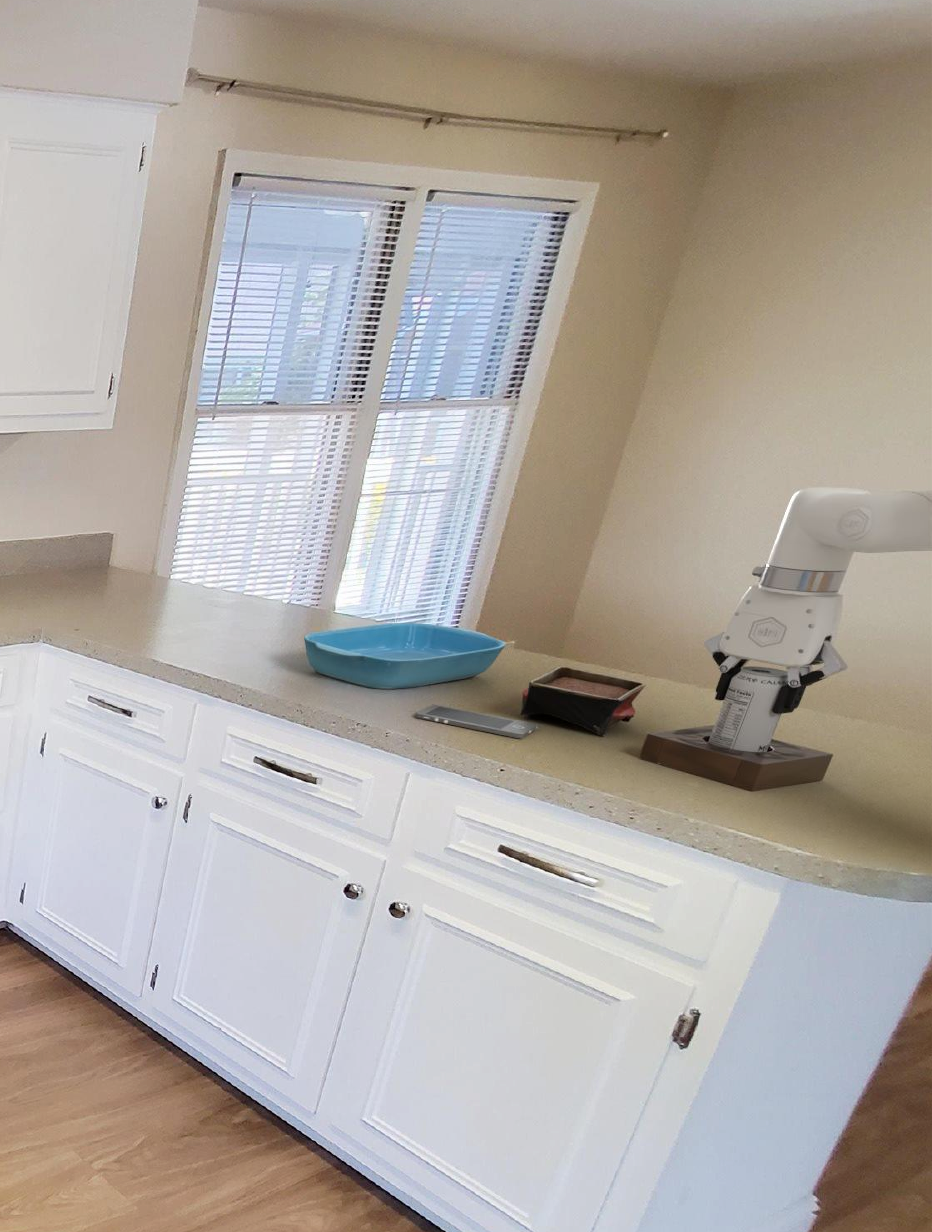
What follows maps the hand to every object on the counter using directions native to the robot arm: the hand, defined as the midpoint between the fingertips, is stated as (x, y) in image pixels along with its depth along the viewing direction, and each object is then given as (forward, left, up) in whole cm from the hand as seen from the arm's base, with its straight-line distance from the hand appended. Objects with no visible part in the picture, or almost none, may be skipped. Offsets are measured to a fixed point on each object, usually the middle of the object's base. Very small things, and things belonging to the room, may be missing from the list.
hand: (753, 704), depth 146 cm
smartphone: (+27, +14, -10) cm, 32 cm away
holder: (0, 0, -10) cm, 10 cm away
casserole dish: (+55, -1, -10) cm, 56 cm away
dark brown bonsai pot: (+23, -2, -10) cm, 25 cm away
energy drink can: (0, 0, -10) cm, 10 cm away
